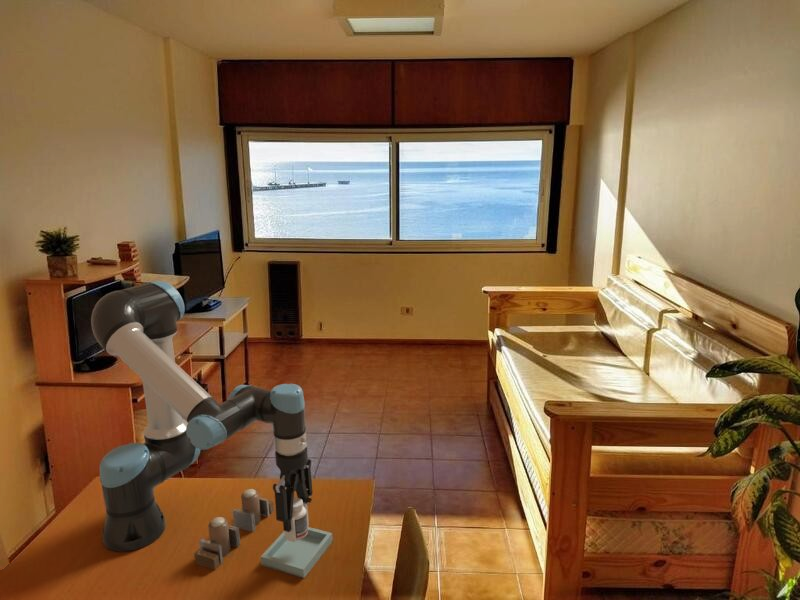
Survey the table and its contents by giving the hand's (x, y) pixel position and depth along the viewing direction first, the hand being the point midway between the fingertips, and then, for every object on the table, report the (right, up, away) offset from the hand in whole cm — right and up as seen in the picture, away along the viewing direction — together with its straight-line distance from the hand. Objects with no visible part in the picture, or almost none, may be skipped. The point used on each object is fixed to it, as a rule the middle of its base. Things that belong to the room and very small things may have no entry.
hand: (297, 532), depth 143 cm
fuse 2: (-15, -3, +14) cm, 21 cm away
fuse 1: (-20, -6, +3) cm, 21 cm away
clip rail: (-17, -4, +8) cm, 20 cm away
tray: (0, -6, +2) cm, 6 cm away
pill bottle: (0, 0, 0) cm, 0 cm away
